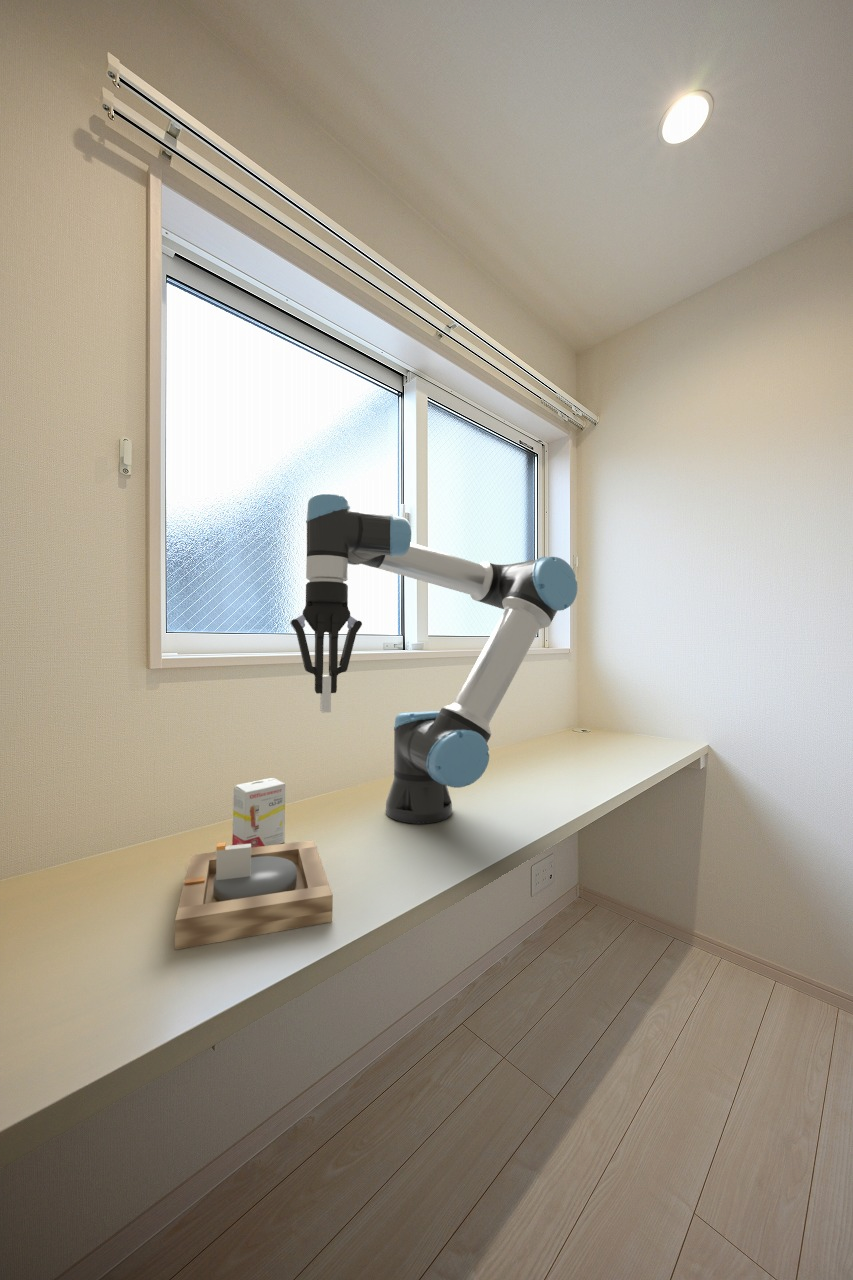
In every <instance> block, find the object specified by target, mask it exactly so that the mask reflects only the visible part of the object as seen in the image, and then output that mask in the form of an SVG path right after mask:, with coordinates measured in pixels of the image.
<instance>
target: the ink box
mask: <svg viewBox="0 0 853 1280" xmlns="http://www.w3.org/2000/svg"><path fill="white" fill-rule="evenodd" d="M232 802H233V804H232V805H233V806H232V807H233V808H232V811H233V812H232V838H231V839H232V840H231V841H232V842H231V843H232V844H231V845H241V844H251V848H253V847H261V846H269V845H277V844H285V838H286V836H285V835H286V783H285V782H283V781H280V780H279V779H277V778H275V777H270V778H268V777H267V778H263V779H259V780H254V781H249V782H243V783H238V784H236V785H235V786H233V801H232Z"/></svg>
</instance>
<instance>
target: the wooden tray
mask: <svg viewBox="0 0 853 1280" xmlns="http://www.w3.org/2000/svg"><path fill="white" fill-rule="evenodd" d="M261 856H273V857H281V858H285V859H288V860H290V861H291V862H293V863H294V864H295V865H296V868H297V882H296V887H295V888H294V890H293V891H286V892H280V893H273V894H267V895H260V896H254V897H247V898H241V899H234V900H228V901H221V902H218V901H217V900H216V899H215V898H214V895H213V887H214V877H215V875H216V851H214V852H212V851H211V852H204V853H196V854H190V857H189V861H188V864H187V868H186V873H185V877H184V881H183V882H184V883H183V886H182V889H181V890H182V891H181V894H180V898H179V902H178V903H179V904H178V907H177V911H176V915H175V920H174V951H176V950H183V949H186V948H188V949H189V948H193V947H199V946H204V945H209V944H214V943H215V944H216V943H220V942H221V943H222V942H227V941H232V940H237V939H244V938H248V937H254V936H259V935H260V936H261V935H265V934H271V933H272V934H273V933H276V932H282V931H288V930H289V931H290V930H293V929H295V930H296V929H298V928H306V927H310V926H317V925H321V924H328V923H332V922H333V913H334V912H333V910H334V909H333V906H334V905H333V901H334V898H333V897H334V896H333V892H332V888H331V885H330V882H329V880H328V879H329V878H328V877H327V874H326V872H325V871H326V870H325V868H324V865H323V862H322V860H321V859H322V858H321V856H320V853H319V851H318V848H317V844H316V842H315V839H312V840H305V841H302V840H301V841H295V842H287V843H281V844H277V845H269V846H261V847H253V848H251V858H252V857H261Z"/></svg>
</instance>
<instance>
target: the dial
mask: <svg viewBox="0 0 853 1280" xmlns="http://www.w3.org/2000/svg"><path fill="white" fill-rule="evenodd" d="M215 852H216V875H215V877H214V887H213V895H214V898H215V899H216V900H217V901H218V902H221V901H228V900H234V899H241V898H247V897H254V896H260V895H267V894H273V893H280V892H286V891H293V890H294V888H295V887H296V882H297V868H296V865H295V864H294V863H293V862H291V861H290V860H288V859H285V858H281V857H273V856H261V857H252V858H251V844H241V845H232V844H231V845H227V842H226V841H223V842H217V843H216V851H215Z"/></svg>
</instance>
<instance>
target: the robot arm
mask: <svg viewBox="0 0 853 1280" xmlns="http://www.w3.org/2000/svg"><path fill="white" fill-rule="evenodd" d="M305 523H306V564H305V565H306V566H305V567H306V568H305V569H306V571H305V575H306V577H305V579H307V580H308V582H306V584H305V606H304V609H303V610H302V614H301V615H299V616H298V617H295V618H294V619H291V620H290V625H291V627H292V629H293V630H294V632H295V633H296V638H297V642H298V646H299V651H300V655H301V658H302V659H301V660H302V663H303V668H304V670H305V672H307V673H309V674H312V675H314V692H315V693H316V694H319V695H320V700H319V701H320V705H319V706H320V709H319V710H320V712H321V713H323V714H324V713H325V714H326V713H331V711H332V707H331V705H332V694H336V693H337V691H338V689H337V688H338V676H339V675H340V674H342V673H345V672H347V671H348V668H349V665H350V659H351V656H352V653H353V648H354V644H355V640H356V635H357V633H358V632H359V630H360V629H361V627H362V626H363V623H362V621H361V620H357V619H356V618H354V617H353V616H352V615H351V612H350V609H349V605H348V604H349V603H348V602H349V601H348V600H349V586H348V584H347V583H346V582H347V581H348V580H349V565H353V566H357V565H364V566H367V567H371V568H376V569H379V570H382V571H386V572H390V573H394V574H397V575H401V576H404V577H407V578H411V579H414V580H417V581H422V582H425V583H428V584H431V585H435V586H439V587H443V588H445V589H449V590H453V591H456V592H459V593H463V594H467V595H470V598H471V599H472V600H474V601H476V602H479V603H483V604H486V605H489V606H491V607H495V608H499V609H501V610H504V611H503V613H502V615H501V616H500V618H499V621H498V622H497V623H496V625H495V627H494V629H493V631H492V632H491V635H490V636H489V638H488V640H487V642H486V643H485V645H484V647H483V648H482V650H481V652H480V654H479V655H478V658H477V659H476V661H475V663H474V665H473V667H472V668H471V670H470V672H469V674H468V676H467V677H466V679H465V681H464V683H463V685H462V686H461V689H460V690H459V692H458V694H457V695H456V697H455V699H454V700H453V702H452V703H451V704H448V705H444V706H442V707H441V709H440V710H439V711H438V710H433V711H431V710H430V711H409V712H400V713H398V714H397V715H396V716H395V719H394V727H393V731H394V732H393V733H394V734H393V735H394V739H393V740H394V741H393V743H394V744H393V745H394V747H393V748H394V749H393V750H394V752H393V754H394V758H393V759H394V760H393V771H394V772H393V781H392V784H391V785H390V786H391V787H390V790H389V792H388V795H387V798H386V800H385V801H386V803H385V813H386V815H387V817H389V818H391V819H392V820H395V821H397V822H400V823H409V824H419V825H420V824H432V823H439V822H442V821H444V820H446V819H448V818H450V817H451V816H452V814H453V804H452V803H453V802H452V799H451V795H450V792H449V789H448V787H450V788H454V789H455V788H464V787H467V786H470V785H472V784H474V783H475V782H477V781H479V779H480V778H482V776H483V774H484V773H485V771H486V769H487V768H488V765H489V761H490V754H489V750H490V749H489V745H488V742H489V740H490V738H491V736H492V733H491V729H490V722H491V721H492V719H493V717H494V715H495V714H496V711H497V709H498V708H499V705H500V704H501V702H502V700H503V699H504V697H505V694H506V693H507V691H508V689H509V688H510V686H511V683H512V681H513V680H514V678H515V676H516V674H517V672H518V671H519V668H520V667H521V665H522V663H523V661H524V659H525V658H526V656H527V654H528V651H529V649H530V648H531V646H532V644H533V642H534V640H536V639H535V638H536V636H537V635H538V633H539V631H540V630H542V629H545V628H549V627H550V625H551V624H552V622H553V620H554V618H555V616H556V614H557V612H558V611H559V612H560V611H564V610H567V609H568V608H569V607H571V606H572V605H573V603H574V602H575V600H576V598H577V593H578V581H577V580H576V574H575V572H574V569H573V568H572V567H571V565H570V564H569V563H568V562H567V561H566V560H565V559H563V558H561V557H559V556H558V557H557V556H541V557H538V558H537V559H533V560H532V559H531V560H526V561H520V562H517V563H509V564H497V563H492V562H489V561H482V562H480V563H476V562H475V561H471V560H467V559H465V558H461V557H458V556H455V555H452V554H449V553H445V552H443V551H439V550H435V549H433V548H430V547H427V546H423V545H420V544H417V543H413V542H412V526H411V523H410V522H409V520H408V519H407V518H406V517H402V516H401V517H400V516H396V515H394V514H390V515H389V514H380V513H372V512H365V511H358V510H357V511H356V510H353V509H351V506H350V501H349V500H348V498H346V497H345V496H341V495H339V494H334V493H318V494H314V495H312V496H311V497H310V498H309V499H308V503H307V511H306V520H305ZM305 621H306V622H307V624H308V625H309V627H310V628H311V629H312V630H313V632H314V666H313V664H312V659H311V655H310V650H309V645H308V642H307V637H306V633H305V630H304V628H305V627H306V624H305ZM346 623H347V625H346V627H347V629H348V631H347V633H346V637H345V640H344V645H343V648H342V652H341V656H340V660H339V661H338V657H339V656H338V655H339V654H338V653H339V652H338V651H339V646H338V645H339V644H338V643H339V640H338V639H339V632H340V631H341V629H343V627H344V626H345V624H346ZM325 633H328V674H325V675H324V642H325V641H324V640H325Z"/></svg>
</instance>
